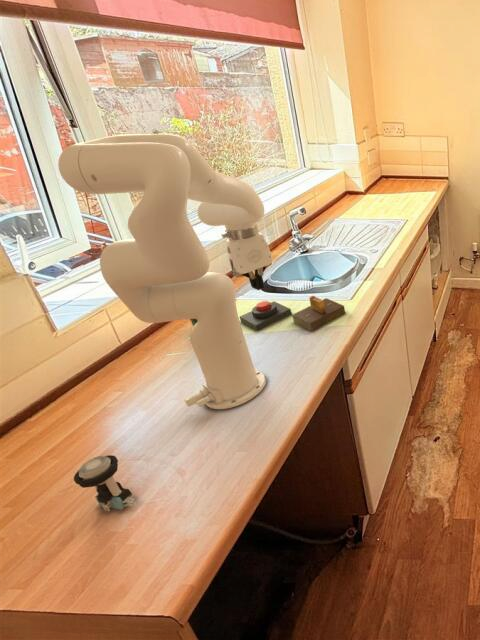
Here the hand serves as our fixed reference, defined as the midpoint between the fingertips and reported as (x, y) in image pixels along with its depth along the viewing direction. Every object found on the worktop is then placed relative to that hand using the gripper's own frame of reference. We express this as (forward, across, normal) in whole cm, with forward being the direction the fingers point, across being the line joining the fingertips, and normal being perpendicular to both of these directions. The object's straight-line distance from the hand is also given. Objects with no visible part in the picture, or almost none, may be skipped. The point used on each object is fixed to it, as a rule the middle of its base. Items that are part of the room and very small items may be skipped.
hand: (258, 288), depth 122 cm
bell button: (+7, 0, 0) cm, 7 cm away
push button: (+11, -48, -37) cm, 62 cm away
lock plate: (+11, +9, -14) cm, 20 cm away
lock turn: (+8, +9, -14) cm, 18 cm away
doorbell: (+11, 0, 0) cm, 11 cm away
